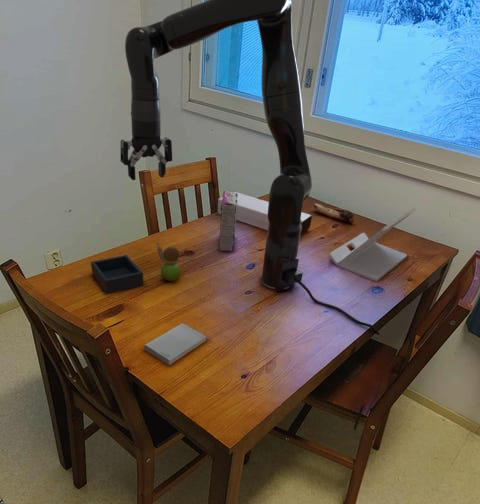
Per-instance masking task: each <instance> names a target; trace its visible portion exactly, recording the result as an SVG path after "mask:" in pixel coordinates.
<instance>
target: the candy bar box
mask: <svg viewBox="0 0 480 504" xmlns="http://www.w3.org/2000/svg"><path fill="white" fill-rule="evenodd" d="M238 193H239V192H237V191H234V192H233V191H229V190H223V192H222V196H223V198H222V206H221V215H220V223H219V224H220V227H219V241H218V242H219V245H218V251H220V252H234V245H235V235H236V225H237V224H236V223H237V221H236V211H237V196H238Z"/></svg>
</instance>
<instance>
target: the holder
mask: <svg viewBox="0 0 480 504" xmlns="http://www.w3.org/2000/svg"><path fill="white" fill-rule="evenodd" d="M90 267H91V268H90V269H91V275H92V276H93V278H94V279H95V280H96V281H97V283H98V284H99V285H100V287H101V288H102V289H103V291H104V292H105V294H107V295H109V294H112V293H113V294H114V293H117V292H121V291H125V290H130V289H133V288H138V287H142V286H143V287H144V272H143V271H142V270H141V269H140V267H138V266H137V264H136V263H135V262H134V261H133V260H132V259H131V257H129V256H128V255H127V254H123V255H119V256H114V257H113V256H112V257H108V258H102V259H99V260H93V261H90Z"/></svg>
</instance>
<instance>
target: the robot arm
mask: <svg viewBox="0 0 480 504" xmlns="http://www.w3.org/2000/svg"><path fill="white" fill-rule="evenodd" d="M255 21H256V22H257V26H258V31H259V37H260V41H261V43H260V44H261V76H260V77H261V98H262V105H263V111H264V112H263V113H264V118H265V121H266V124H267V127H268V129H269V132H270V134H271V136H272V139H273V140H274V142H275V145H276V148H277V152H278V158H279V159H278V160H279V174H278V175H277V176H276V177H275V178H274V179H273V181H272V182H271V185H270V190H269V195H268V196H269V197H268V202H269V204H268V221H269V225H268V231H267V233H266V240H265V241H266V242H265V248H264V249H265V250H264V254H263V255H264V257H263V263H262V272H261V278H260V283H261V284H262V286H263V287H265V288H267V289H269V290H273V291H275V292H277V293H280V292H283V291H287V290H290V289H293V288H294V287H295V284H296V283H297V284H298V285H300V286H301V287H302V289H304V291H306V293H307V294H308V296H309V298H310V299H311V300H312V301H313V302H314V303H316V304H318V305H320V306H323V307H326V308H330V309H333V310H335V311H337V312H339V313H341V314H342V315H344V316H345V317H346V318H348V319H350V320H351V321H353V323H356V324H357V325H360V326H363V327H367V328H370V329H372V331H374V333H375V334H376V335H377V336H380V332H379V330H378V329H377V327H376V326H374V325H372V324H371V323H367V322H364V321H360V320H358V319H357V318H355V317H354V316H352V315H350V314H349V313H348V312H346V311H345V310H344V309H341V308H340V307H337V306H336V305H332V304H328V303H325V302H322V301H319V300H318V299H316V298H315V297H314V295H313V294H312V292H311V291H310V289H309V288H308V287H307V286H306V285H305V284H304V283H303V282H302V280H303V274H304V272H302V271H301V270H300V269H298V266H299V262H300V259H299V258H298V252H299V247H300V241H301V236H302V234H301V231H302V225H303V223H302V220H301V212H302V211H303V207H304V201H306V200H307V198H308V197H309V196H310V194H311V191H312V188H313V181H312V180H313V179H312V175H311V171H310V165H309V161H308V155H307V150H306V144H305V127H304V117H303V101H302V91H301V86H300V85H301V84H300V77H299V72H298V71H299V70H298V66H297V59H296V54H295V50H294V43H293V26H292V25H293V24H292V22H293V21H292V0H206V1H202V2H200V3H197V4H193V5H192V6H190V7H189V6H188V7H187V8H184V9H182V10H178V11H176V12H174V13H171V14H168V15H167V16H166V17H164V18H163V19H162V20H159V21H157V22H155V23H152V24H149V25H146V26H136V27H133V28H131V29H130V30H128V32H127V34H126V37H125V41H124V52H125V58H126V63H127V68H128V73H129V75H130V92H131V93H130V95H131V101H130V116H131V120H130V121H131V140H125V139H121V140H120V154H119V155H120V158H119V159H120V162H121V163H122V164H123V165H124V166H127V175H128V177H129V178H130V180H131V181H136V179H137V178H136V167H135V165H136V164H137V163H138V162H139V160H141V158H147V157H149V158H150V157H151V158H153V157H154V156H155V157H156V158H157V160H158V165H157V167H158V171H157V172H158V173H157V174H158V177H160V178H164V177H165V175H166V174H167V173H166V172H167V171H166V170H167V169H166V167H167V165H166V164H167V163H169V162H172V161H173V145H172V144H173V143H172V139H170V138H168V137H164V138H161V136H162V135H161V123H162V121H161V102H160V79H159V76H158V74H157V73H155V66H154V65H155V64H154V60H155V59H158V58H160V57H162V56H164V55H168V54H169V53H171V52H173V51H175V50H180V49H184V48H186V47H189V46H191V45H194V44H197V43H199V42H201V41H202V42H203V41H204V40H206V39H208V38H211V37H212V36H214V35H216V34H217V33H219V32H221V31H223V30H225V29H228V28H230V27H233V26H235V25H240V24H243V23H249V22H255ZM131 147H132V148H133V150H132V151H131V153H130V156H129V150H130V149H131ZM161 147H163V148H164V149H163V150H164V155H163V154H162V152H161V151H160V148H161ZM364 407H365V404H362V405H360V408H359V411H358V413H357V416H356V419H355V422H354V426H353V431H357V427H358V425H359V422H360V419H361V415H362V413H363V410H364Z"/></svg>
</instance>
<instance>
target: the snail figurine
mask: <svg viewBox="0 0 480 504" xmlns="http://www.w3.org/2000/svg"><path fill="white" fill-rule="evenodd" d="M156 245H157V247H156V250H157V254H158V257H159V259H160V261H161V262H162V263H164V264H162V266H161V268H160V274H161V277H162V278H163V279H164V280H165V281H168V282H174V281H175V280H177V279H178V278H179V277H180V275H181V269H180V267H179V265H178V264H177V263H178V262H180V251H179V249H178V248H176V246H169V247H166V248H165V249H164V250H163V246H161V245H160V243H159V241H156Z"/></svg>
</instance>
